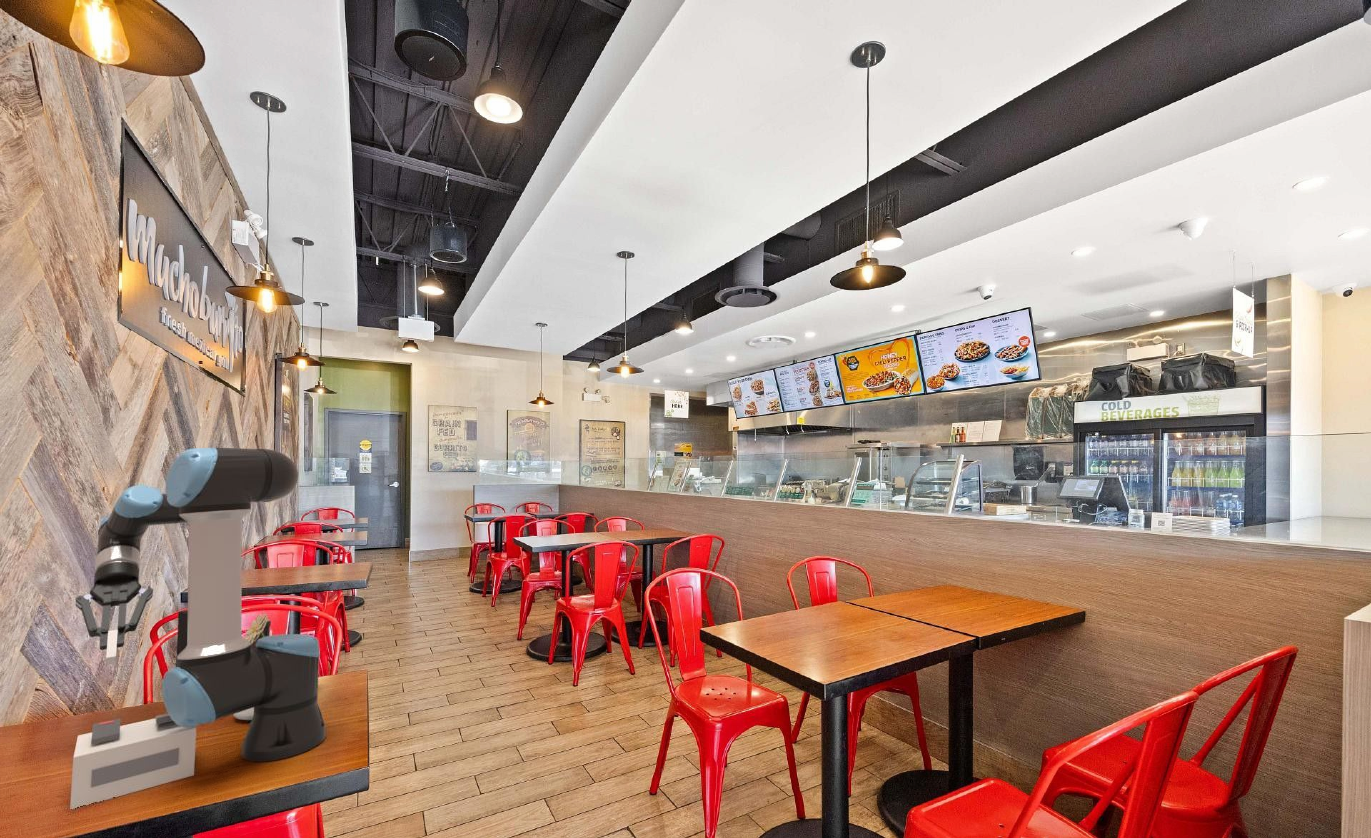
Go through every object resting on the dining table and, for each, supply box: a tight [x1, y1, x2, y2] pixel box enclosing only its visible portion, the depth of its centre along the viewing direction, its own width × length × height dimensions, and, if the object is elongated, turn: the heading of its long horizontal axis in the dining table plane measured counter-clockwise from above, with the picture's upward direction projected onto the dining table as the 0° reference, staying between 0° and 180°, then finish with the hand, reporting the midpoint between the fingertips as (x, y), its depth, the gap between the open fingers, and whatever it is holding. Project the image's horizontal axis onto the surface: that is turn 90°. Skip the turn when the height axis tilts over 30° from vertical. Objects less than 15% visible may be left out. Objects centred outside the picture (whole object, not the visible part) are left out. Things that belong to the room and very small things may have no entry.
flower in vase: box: [232, 613, 268, 721], centre depth 146 cm, size 13×11×25 cm
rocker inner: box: [154, 712, 172, 724], centre depth 119 cm, size 6×4×1 cm
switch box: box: [69, 717, 197, 811], centre depth 116 cm, size 12×17×9 cm
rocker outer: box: [91, 717, 122, 745], centre depth 113 cm, size 6×4×1 cm
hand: (110, 660), depth 125 cm, fingers closed
